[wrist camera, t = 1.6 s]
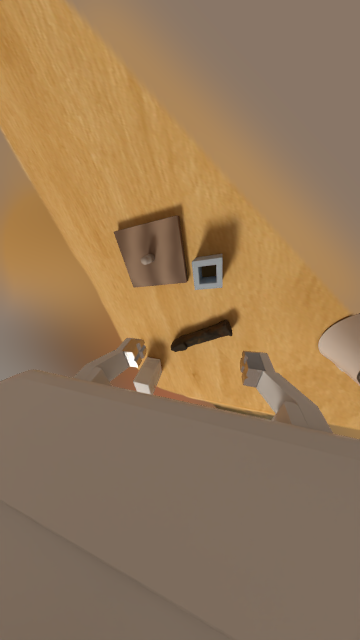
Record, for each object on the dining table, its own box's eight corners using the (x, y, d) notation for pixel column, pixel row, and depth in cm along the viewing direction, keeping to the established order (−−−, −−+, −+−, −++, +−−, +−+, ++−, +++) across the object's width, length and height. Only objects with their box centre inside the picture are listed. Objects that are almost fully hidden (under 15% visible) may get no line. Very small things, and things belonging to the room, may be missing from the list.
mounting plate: (179, 216, 24) (170, 212, 20) (187, 280, 30) (182, 288, 26) (118, 231, 29) (100, 231, 24) (136, 285, 35) (124, 292, 30)
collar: (222, 253, 26) (222, 257, 22) (222, 279, 28) (222, 287, 24) (196, 257, 27) (191, 261, 23) (198, 282, 30) (194, 289, 26)
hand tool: (227, 316, 33) (227, 326, 30) (232, 328, 35) (234, 339, 31) (168, 335, 42) (163, 345, 38) (175, 344, 44) (170, 354, 40)
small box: (147, 356, 51) (132, 381, 42) (160, 359, 50) (148, 385, 41) (149, 369, 55) (137, 393, 47) (162, 372, 54) (151, 398, 45)
